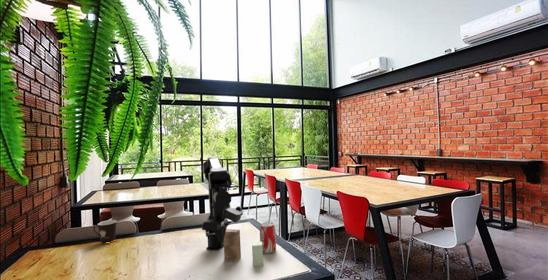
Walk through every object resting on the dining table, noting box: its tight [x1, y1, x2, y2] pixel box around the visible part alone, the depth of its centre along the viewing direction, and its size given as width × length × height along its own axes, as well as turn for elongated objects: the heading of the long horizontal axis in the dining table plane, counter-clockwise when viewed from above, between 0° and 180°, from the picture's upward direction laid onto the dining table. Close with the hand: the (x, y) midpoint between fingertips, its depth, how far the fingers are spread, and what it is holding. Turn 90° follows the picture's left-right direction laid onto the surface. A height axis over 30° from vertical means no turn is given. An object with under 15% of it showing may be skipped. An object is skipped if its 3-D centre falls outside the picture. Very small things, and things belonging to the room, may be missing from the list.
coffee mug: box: [92, 220, 118, 243], centre depth 150 cm, size 12×9×10 cm
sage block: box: [251, 241, 264, 267], centre depth 114 cm, size 4×4×8 cm
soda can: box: [259, 222, 277, 254], centre depth 126 cm, size 7×7×12 cm
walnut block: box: [223, 228, 242, 262], centre depth 119 cm, size 6×4×12 cm, turn 73°
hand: (221, 241), depth 111 cm, fingers closed
